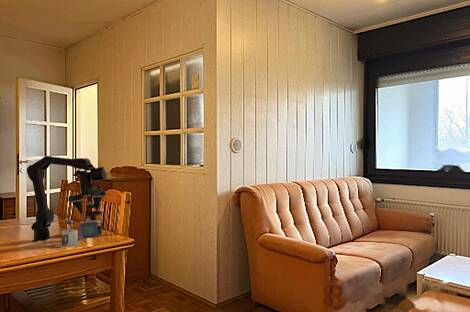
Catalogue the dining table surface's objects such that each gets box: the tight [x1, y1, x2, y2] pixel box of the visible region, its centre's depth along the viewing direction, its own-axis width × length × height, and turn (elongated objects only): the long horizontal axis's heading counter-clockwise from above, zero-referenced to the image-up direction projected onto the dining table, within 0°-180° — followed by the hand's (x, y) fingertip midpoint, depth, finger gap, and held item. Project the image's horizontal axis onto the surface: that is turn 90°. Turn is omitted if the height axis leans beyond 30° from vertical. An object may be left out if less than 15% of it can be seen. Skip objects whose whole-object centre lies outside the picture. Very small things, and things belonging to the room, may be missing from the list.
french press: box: [83, 201, 107, 235], centre depth 200 cm, size 12×9×23 cm
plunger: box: [64, 219, 74, 232], centre depth 174 cm, size 4×4×6 cm
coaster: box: [53, 241, 84, 248], centre depth 174 cm, size 10×10×1 cm
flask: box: [78, 217, 99, 240], centre depth 188 cm, size 9×3×11 cm, turn 121°
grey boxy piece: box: [60, 229, 79, 246], centre depth 173 cm, size 7×9×6 cm
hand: (89, 212), depth 185 cm, fingers open, 9 cm apart
